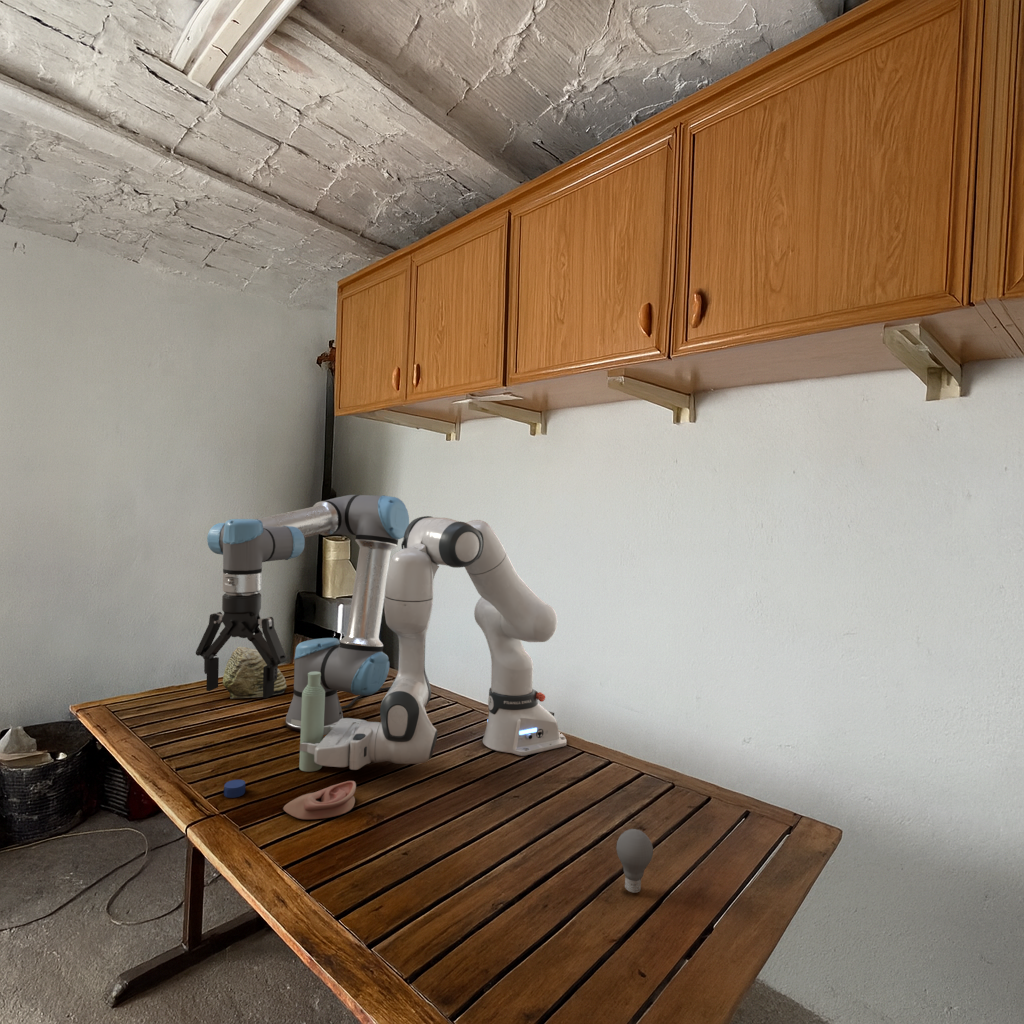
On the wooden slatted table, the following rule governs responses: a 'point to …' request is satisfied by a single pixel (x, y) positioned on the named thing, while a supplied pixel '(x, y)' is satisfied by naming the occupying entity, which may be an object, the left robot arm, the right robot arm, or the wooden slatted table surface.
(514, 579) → the right robot arm
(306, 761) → the bottle
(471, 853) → the wooden slatted table surface
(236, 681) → the fossil
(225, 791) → the cap
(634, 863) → the light bulb
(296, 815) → the anatomical model
